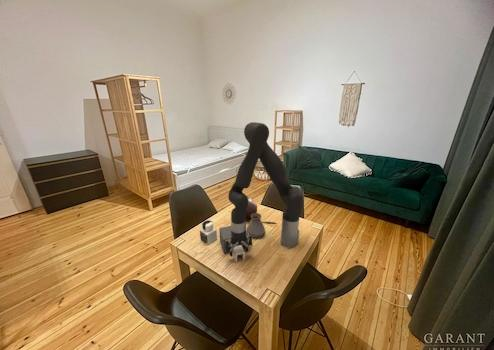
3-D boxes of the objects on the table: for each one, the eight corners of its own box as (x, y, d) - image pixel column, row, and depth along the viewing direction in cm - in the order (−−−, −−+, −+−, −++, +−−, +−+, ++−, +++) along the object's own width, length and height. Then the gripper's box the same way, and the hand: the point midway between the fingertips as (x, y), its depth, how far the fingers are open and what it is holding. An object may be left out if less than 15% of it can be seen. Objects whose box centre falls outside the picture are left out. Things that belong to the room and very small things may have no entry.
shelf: (248, 248, 115) (248, 234, 111) (224, 254, 110) (223, 239, 107) (242, 236, 124) (242, 223, 121) (220, 241, 120) (219, 228, 117)
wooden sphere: (259, 222, 139) (260, 202, 134) (238, 225, 135) (238, 205, 130) (253, 211, 152) (253, 193, 147) (233, 213, 149) (233, 195, 143)
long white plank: (228, 242, 120) (228, 235, 118) (236, 240, 121) (236, 233, 119) (235, 261, 106) (235, 254, 104) (244, 259, 107) (244, 252, 105)
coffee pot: (242, 233, 127) (242, 212, 122) (255, 225, 135) (255, 206, 130) (268, 250, 113) (270, 227, 108) (281, 240, 121) (282, 219, 115)
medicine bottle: (200, 239, 122) (198, 222, 117) (209, 234, 127) (208, 217, 122) (207, 245, 117) (206, 227, 113) (217, 239, 122) (216, 222, 118)
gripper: (249, 221, 107) (249, 246, 113) (222, 226, 103) (224, 252, 108) (254, 229, 100) (254, 255, 106) (226, 235, 96) (227, 262, 102)
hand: (238, 253), depth 107 cm, fingers open, 8 cm apart
